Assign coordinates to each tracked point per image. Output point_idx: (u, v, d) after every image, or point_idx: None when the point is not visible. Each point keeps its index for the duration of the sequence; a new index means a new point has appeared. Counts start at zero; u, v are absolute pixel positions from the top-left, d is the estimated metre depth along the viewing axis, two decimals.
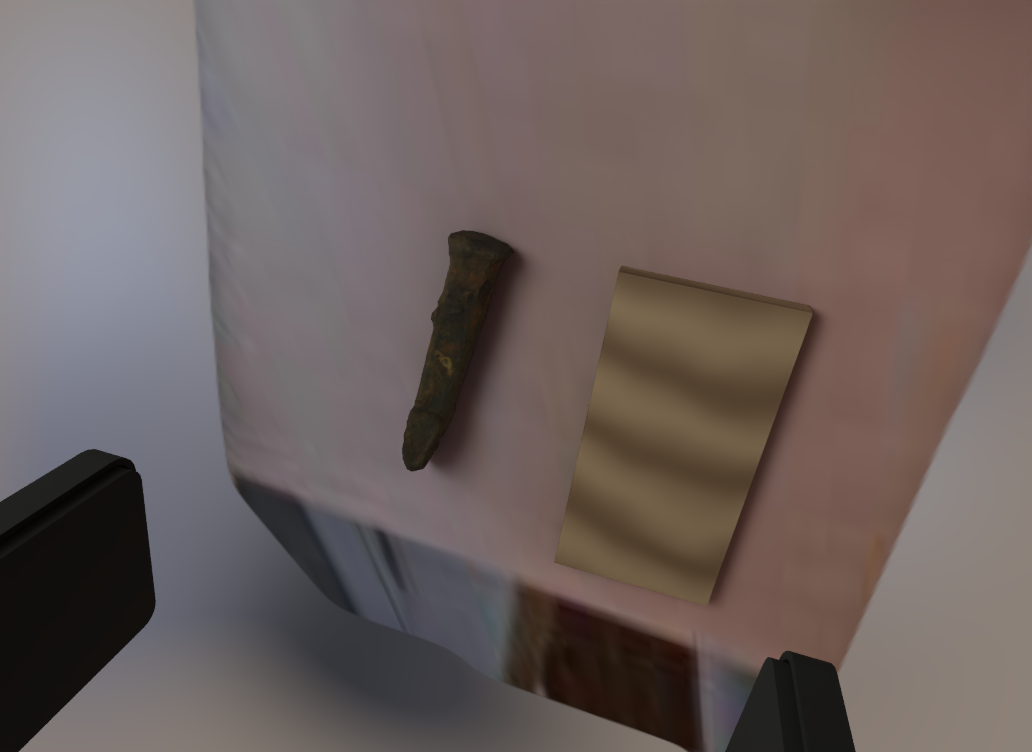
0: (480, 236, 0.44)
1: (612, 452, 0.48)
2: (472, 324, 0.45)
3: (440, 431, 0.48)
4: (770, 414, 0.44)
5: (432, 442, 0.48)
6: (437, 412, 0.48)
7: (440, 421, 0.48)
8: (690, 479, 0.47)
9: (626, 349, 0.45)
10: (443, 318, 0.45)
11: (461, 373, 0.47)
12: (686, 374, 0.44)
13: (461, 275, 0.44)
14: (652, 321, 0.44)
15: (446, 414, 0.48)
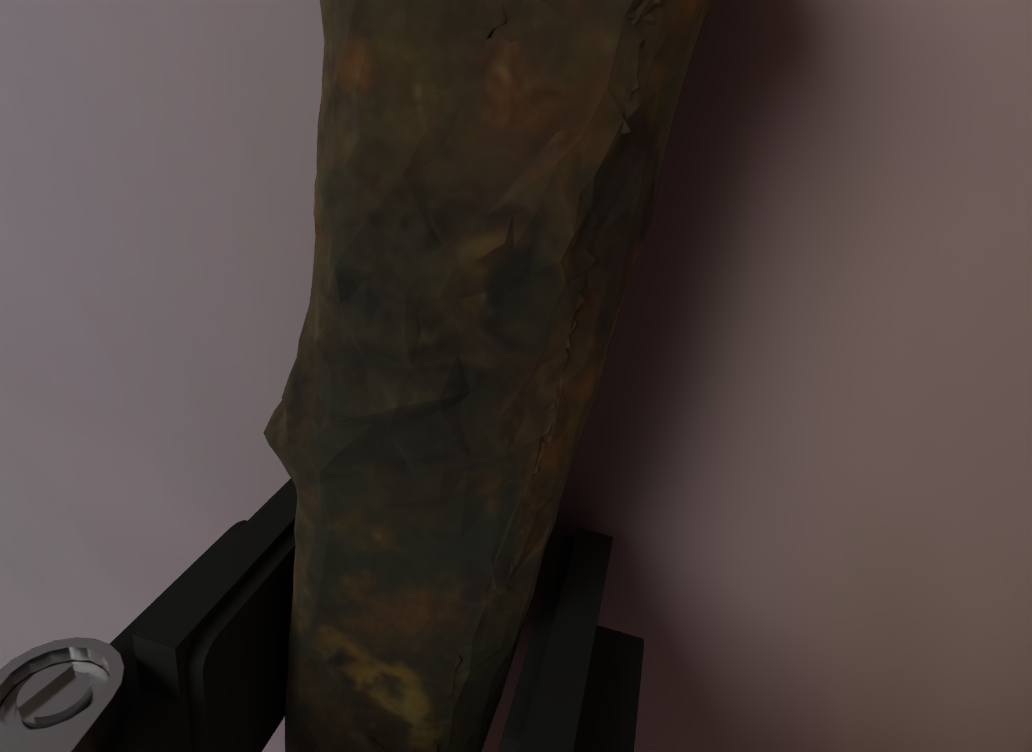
0: None
1: None
2: (537, 473, 0.06)
3: None
4: None
5: None
6: None
7: None
8: None
9: None
10: (332, 451, 0.06)
11: (490, 717, 0.08)
12: None
13: (412, 98, 0.05)
14: None
15: None
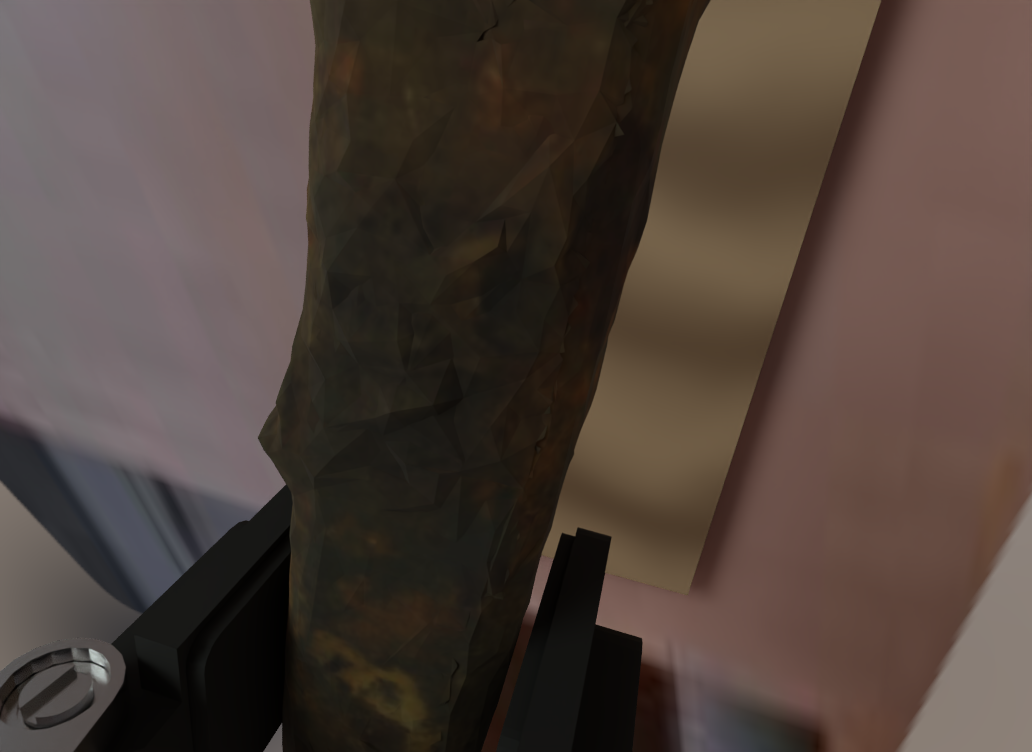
0: None
1: None
2: (533, 477, 0.06)
3: None
4: (805, 198, 0.22)
5: None
6: None
7: None
8: (649, 351, 0.25)
9: None
10: (325, 455, 0.06)
11: (488, 722, 0.08)
12: None
13: (404, 102, 0.05)
14: None
15: None
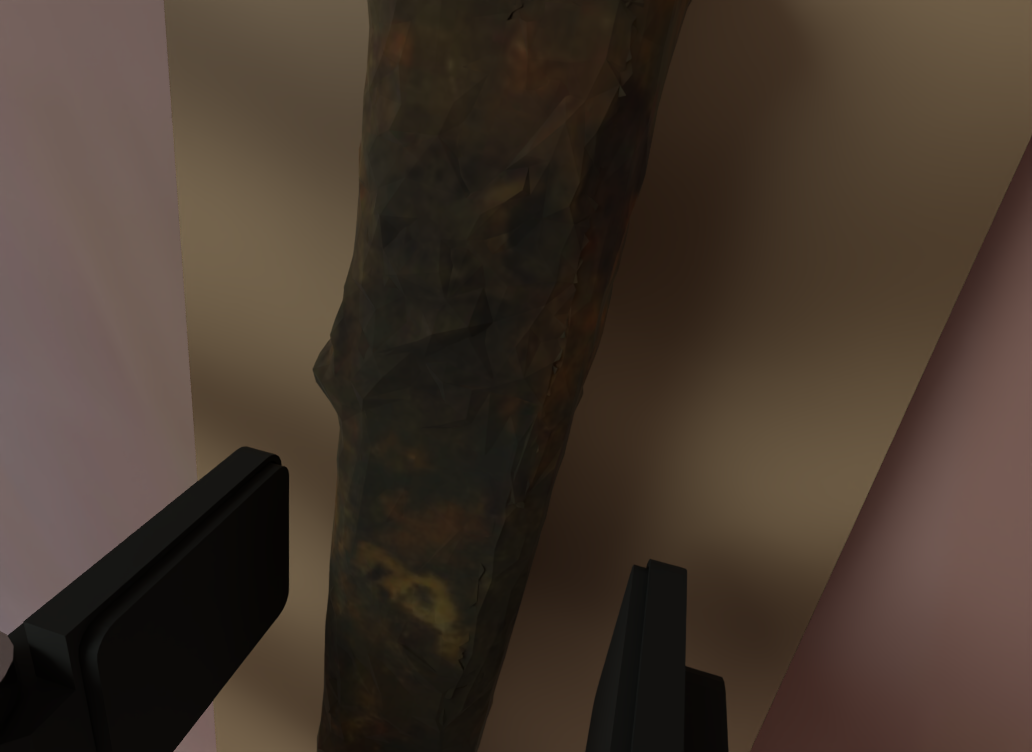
0: None
1: (302, 496, 0.13)
2: (550, 396, 0.08)
3: None
4: (911, 337, 0.09)
5: None
6: None
7: None
8: (575, 599, 0.13)
9: (261, 52, 0.10)
10: (373, 378, 0.08)
11: (509, 631, 0.10)
12: None
13: (446, 70, 0.06)
14: None
15: None
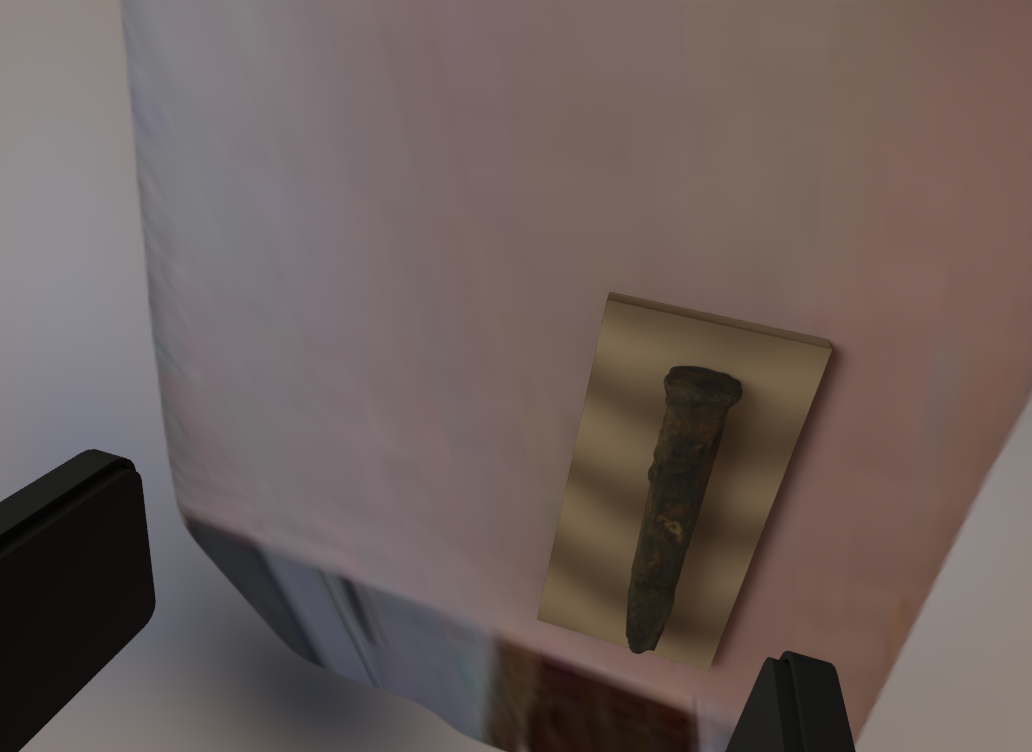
0: (701, 374, 0.35)
1: (601, 501, 0.42)
2: (704, 480, 0.36)
3: (672, 606, 0.39)
4: (781, 463, 0.38)
5: (665, 621, 0.39)
6: (667, 584, 0.39)
7: (671, 596, 0.39)
8: None
9: (616, 387, 0.39)
10: (667, 479, 0.36)
11: (691, 535, 0.38)
12: None
13: (687, 427, 0.35)
14: (645, 356, 0.38)
15: (676, 584, 0.40)
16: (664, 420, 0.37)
